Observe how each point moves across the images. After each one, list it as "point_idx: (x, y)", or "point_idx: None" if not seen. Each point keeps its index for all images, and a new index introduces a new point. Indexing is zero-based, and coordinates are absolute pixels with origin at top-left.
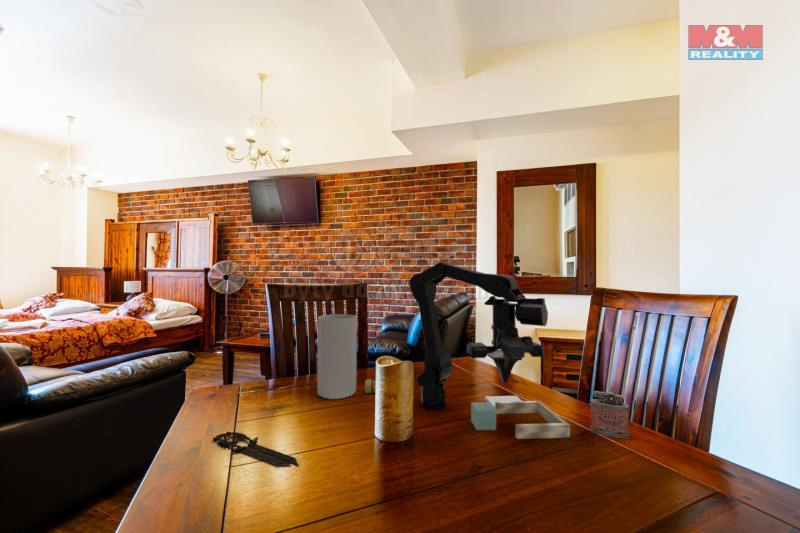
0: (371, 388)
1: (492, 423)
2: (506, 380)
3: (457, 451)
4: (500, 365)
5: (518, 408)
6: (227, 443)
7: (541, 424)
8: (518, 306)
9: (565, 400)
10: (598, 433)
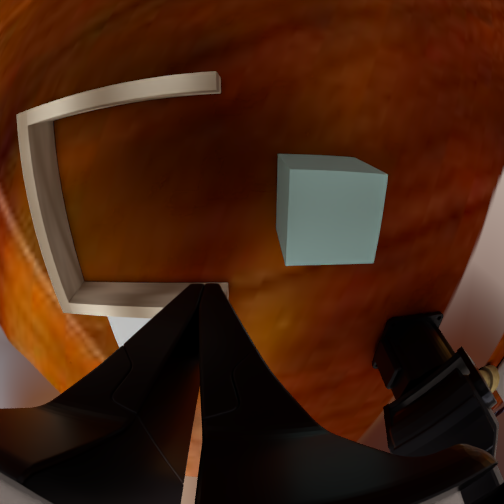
0: (488, 373)
1: (296, 158)
2: (193, 292)
3: (443, 46)
4: (281, 411)
5: (140, 292)
6: None
7: (101, 96)
8: None
9: (23, 340)
10: None
